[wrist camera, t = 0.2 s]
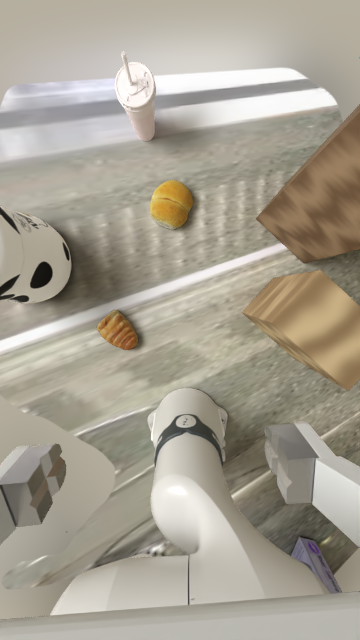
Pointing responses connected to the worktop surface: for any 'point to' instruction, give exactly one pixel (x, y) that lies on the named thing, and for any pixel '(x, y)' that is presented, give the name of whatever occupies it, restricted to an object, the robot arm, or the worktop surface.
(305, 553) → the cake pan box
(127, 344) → the pastry
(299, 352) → the oak block
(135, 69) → the smoothie
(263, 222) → the button stand
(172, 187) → the bread roll
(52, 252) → the milk container
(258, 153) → the worktop surface
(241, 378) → the worktop surface
